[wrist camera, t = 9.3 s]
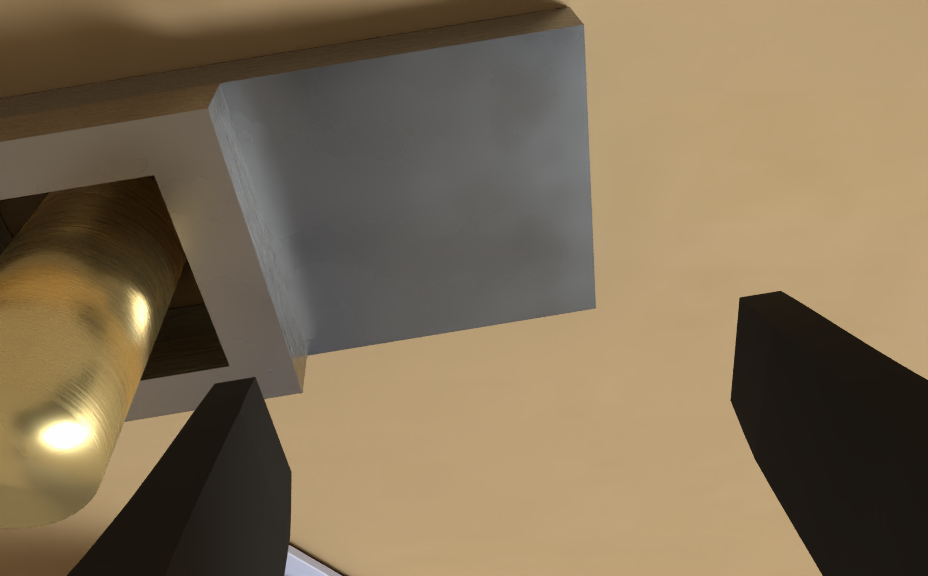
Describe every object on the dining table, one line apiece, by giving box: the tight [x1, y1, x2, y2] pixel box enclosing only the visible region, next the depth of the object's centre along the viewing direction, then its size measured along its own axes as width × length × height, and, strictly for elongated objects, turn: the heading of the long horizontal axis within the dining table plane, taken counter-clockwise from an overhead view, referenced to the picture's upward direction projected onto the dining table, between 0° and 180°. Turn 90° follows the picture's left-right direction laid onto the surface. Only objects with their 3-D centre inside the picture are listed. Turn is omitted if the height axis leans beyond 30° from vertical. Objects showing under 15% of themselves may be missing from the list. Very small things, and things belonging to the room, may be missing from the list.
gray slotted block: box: [0, 7, 596, 422], centre depth 19 cm, size 24×8×3 cm, turn 97°
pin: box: [0, 176, 187, 529], centre depth 17 cm, size 4×4×8 cm
